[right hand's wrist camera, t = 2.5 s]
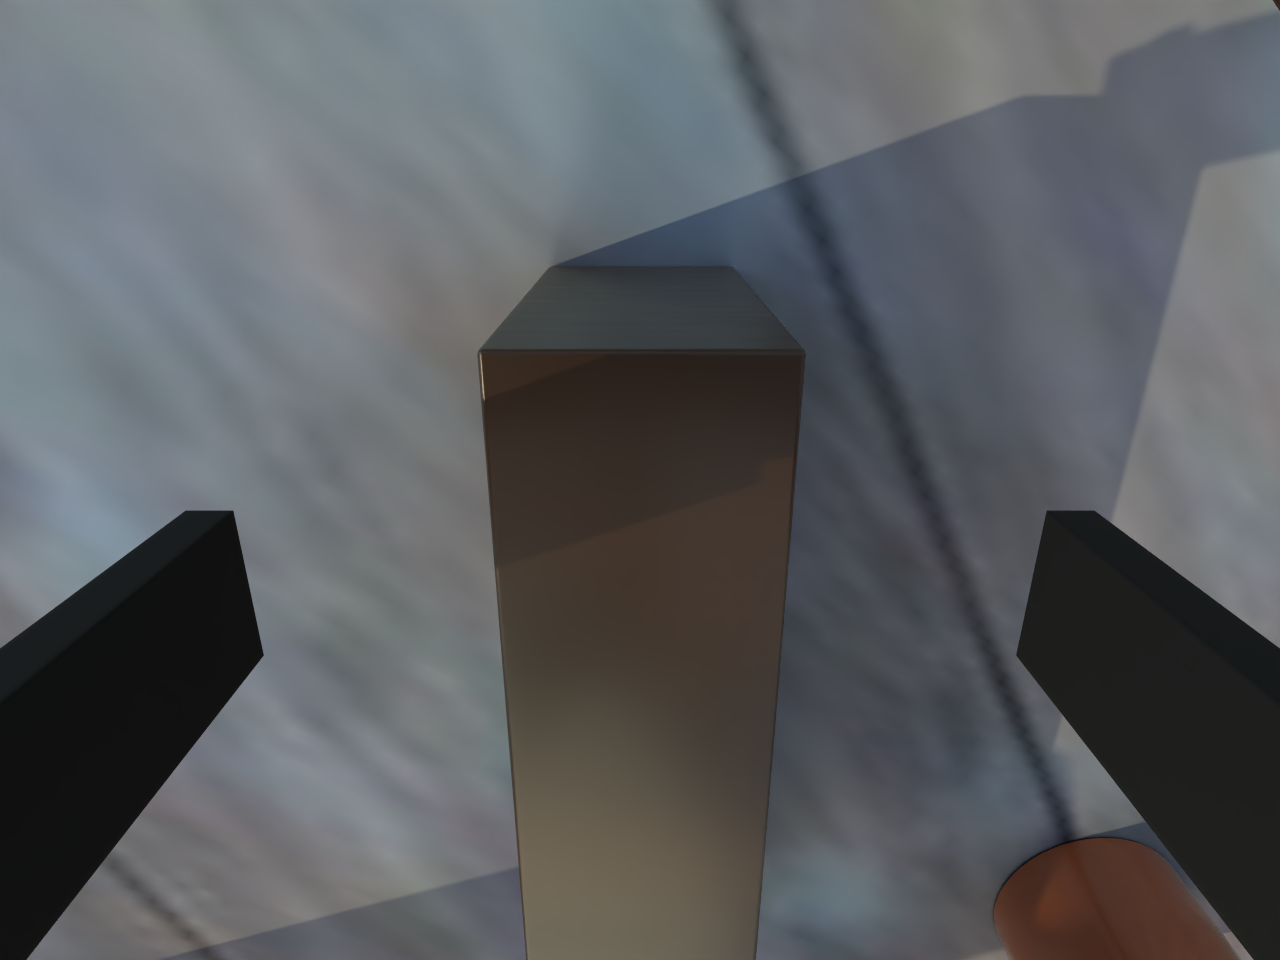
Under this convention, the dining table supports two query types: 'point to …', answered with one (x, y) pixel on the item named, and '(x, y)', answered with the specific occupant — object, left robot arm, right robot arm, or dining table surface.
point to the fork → (1277, 3)
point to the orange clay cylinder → (1104, 907)
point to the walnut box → (641, 601)
